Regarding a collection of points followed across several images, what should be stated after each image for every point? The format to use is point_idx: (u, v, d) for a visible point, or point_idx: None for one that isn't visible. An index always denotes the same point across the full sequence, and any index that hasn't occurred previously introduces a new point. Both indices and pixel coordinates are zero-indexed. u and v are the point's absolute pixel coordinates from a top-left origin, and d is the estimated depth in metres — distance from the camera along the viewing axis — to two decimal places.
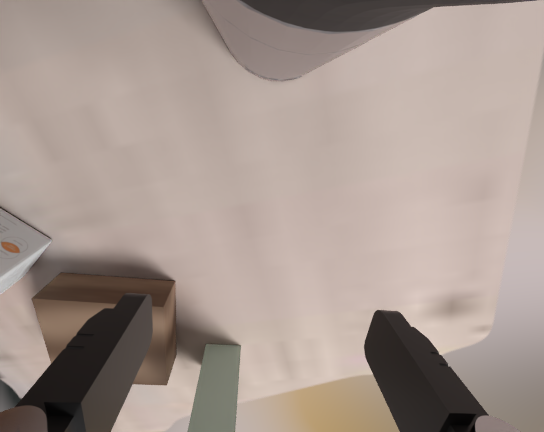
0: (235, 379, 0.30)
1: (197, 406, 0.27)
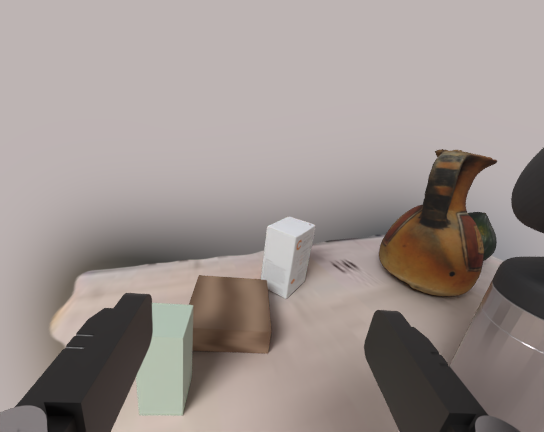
0: (183, 383, 0.27)
1: (192, 332, 0.29)
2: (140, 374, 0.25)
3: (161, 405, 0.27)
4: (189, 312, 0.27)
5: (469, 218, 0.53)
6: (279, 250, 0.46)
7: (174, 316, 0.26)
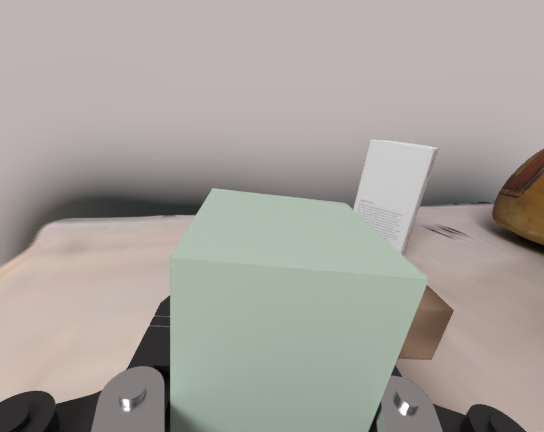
0: None
1: None
2: None
3: None
4: (356, 215, 0.08)
5: None
6: (393, 180, 0.27)
7: (316, 218, 0.07)
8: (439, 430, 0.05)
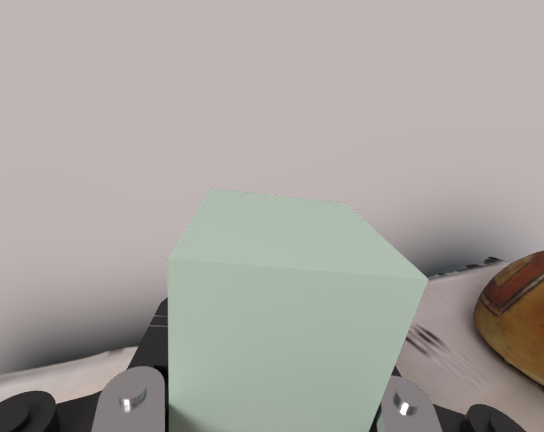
0: None
1: None
2: None
3: None
4: (355, 214, 0.08)
5: None
6: None
7: (315, 218, 0.07)
8: (439, 430, 0.05)
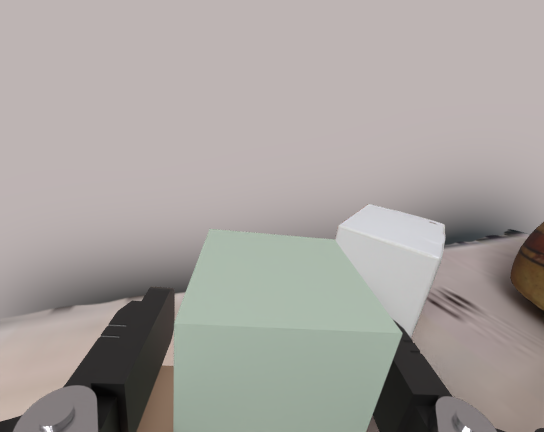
0: None
1: None
2: None
3: None
4: (343, 255, 0.08)
5: None
6: (374, 293, 0.17)
7: (306, 262, 0.08)
8: None
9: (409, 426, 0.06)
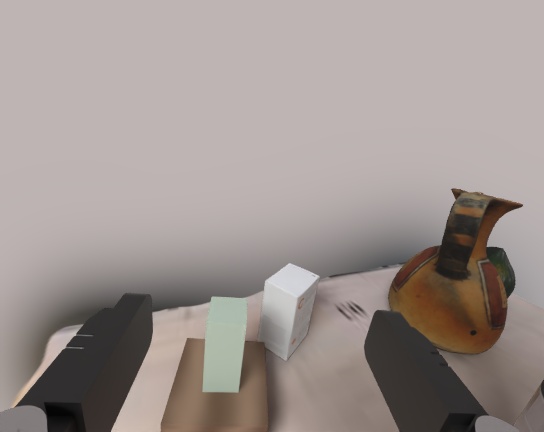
0: (241, 363, 0.32)
1: None
2: (207, 356, 0.30)
3: (221, 383, 0.32)
4: (246, 305, 0.32)
5: (491, 266, 0.47)
6: (279, 309, 0.41)
7: (234, 307, 0.32)
8: None
9: None
